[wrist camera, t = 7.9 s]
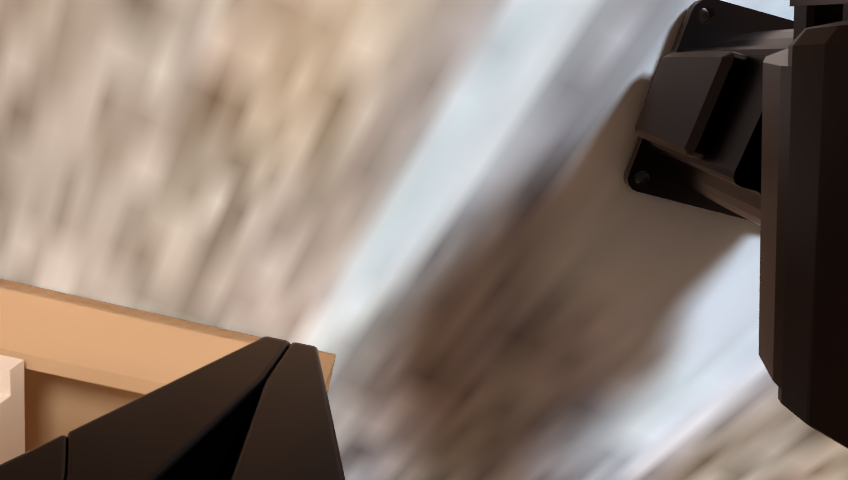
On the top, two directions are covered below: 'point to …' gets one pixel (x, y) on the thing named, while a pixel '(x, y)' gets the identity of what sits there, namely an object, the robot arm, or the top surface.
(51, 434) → the mailer box
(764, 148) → the robot arm
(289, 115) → the top surface
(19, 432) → the lid
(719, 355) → the top surface
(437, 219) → the top surface
